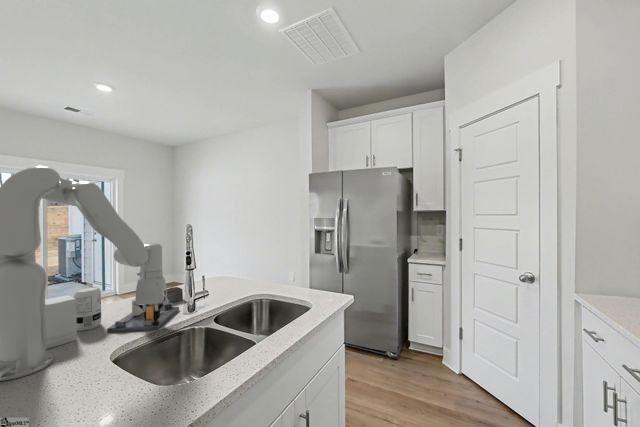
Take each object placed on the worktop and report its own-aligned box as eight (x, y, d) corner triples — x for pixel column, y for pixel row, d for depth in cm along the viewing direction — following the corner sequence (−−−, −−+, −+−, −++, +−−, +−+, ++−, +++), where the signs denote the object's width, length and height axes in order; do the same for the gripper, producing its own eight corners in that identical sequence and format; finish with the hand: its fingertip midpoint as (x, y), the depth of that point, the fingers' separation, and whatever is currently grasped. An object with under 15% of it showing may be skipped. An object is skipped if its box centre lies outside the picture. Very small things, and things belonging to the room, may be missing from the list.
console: (157, 329, 105) (157, 320, 105) (107, 332, 103) (107, 323, 103) (179, 310, 126) (178, 302, 126) (137, 312, 124) (137, 304, 124)
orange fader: (153, 322, 108) (152, 306, 108) (146, 323, 107) (146, 306, 107) (157, 318, 112) (157, 302, 112) (151, 319, 111) (151, 303, 111)
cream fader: (138, 315, 115) (138, 299, 115) (132, 315, 115) (131, 300, 115) (143, 311, 119) (143, 296, 119) (137, 312, 119) (137, 297, 119)
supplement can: (70, 329, 107) (69, 291, 107) (95, 321, 114) (94, 285, 114) (80, 333, 103) (79, 293, 103) (105, 325, 110) (104, 288, 110)
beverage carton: (135, 307, 131) (135, 293, 131) (177, 297, 146) (177, 285, 146) (141, 311, 126) (140, 297, 126) (183, 300, 141) (183, 288, 141)
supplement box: (77, 340, 98) (77, 298, 97) (42, 350, 90) (42, 305, 90) (69, 333, 103) (69, 294, 102) (35, 343, 95) (35, 301, 95)
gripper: (124, 277, 105) (125, 325, 105) (168, 276, 106) (169, 322, 107) (135, 273, 112) (135, 317, 112) (176, 271, 114) (177, 315, 114)
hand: (152, 319), depth 109 cm, fingers closed on orange fader, 2 cm apart
